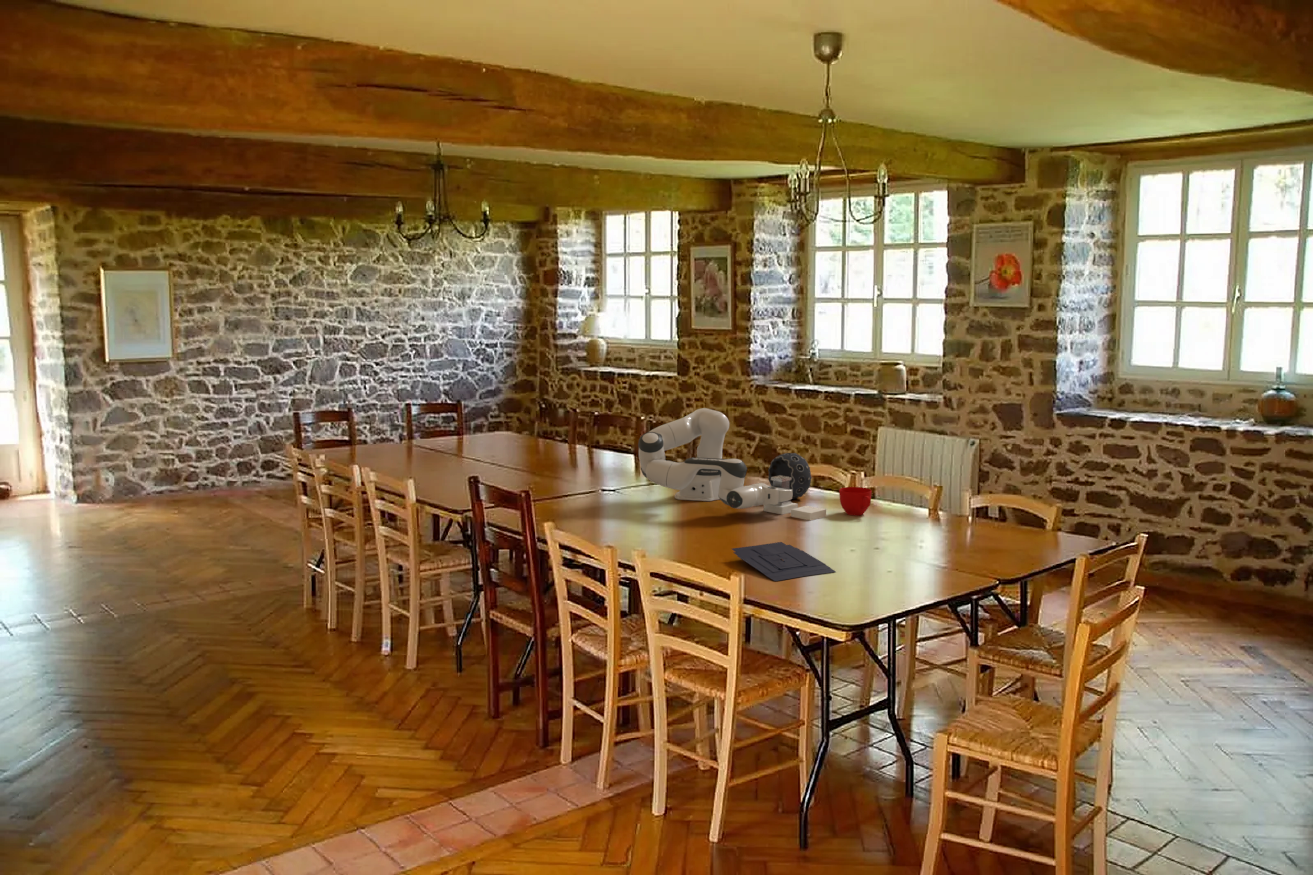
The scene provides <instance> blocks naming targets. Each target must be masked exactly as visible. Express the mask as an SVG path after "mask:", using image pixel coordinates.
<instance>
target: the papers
mask: <svg viewBox="0 0 1313 875" xmlns="http://www.w3.org/2000/svg"><path fill="white" fill-rule="evenodd" d="M731 550H732V551H733V554H735V555H736V556H737V557H738V558H740V560H742V561H744V562H746V563H747V564H749V565H750V566H751V567H753V568H755V569H756V570H757V571H759V572H760V573H762V574H763V575H765V576H766V577H767V578H768V579H771V580H772V581H774V582H778V581H785V580H790V579H795V578H800V577H801V578H802V577H806V576H815V575H822V574H823V575H824V574H828V573H829V574H831V573H836V571H835V569H833V568H831V567H830V566H829V565H827V564H826V563H824V562H822V561H821V560H819V559H817V558H816V557H815V556H812V555H811V554H809V553H807V552H806V551H804V550H802V549H800V548H798V547H795V546H793V545H791V544H785V542H782V541H779V542H778V541H777V542H770V543H765V544H758V545H749V546H741V547H734V548H731Z"/></svg>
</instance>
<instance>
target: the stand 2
mask: <svg viewBox="0 0 1313 875" xmlns="http://www.w3.org/2000/svg"><path fill="white" fill-rule="evenodd" d="M790 517H791V518H796V519H799V520H800V519H801V520H807V521H814V520H818V519H822V518H826V517H827V509H826V508H822V507H821V508H820V507H815V506H811V505H804V506H798V508H795V509H791V513H790Z"/></svg>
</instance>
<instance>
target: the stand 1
mask: <svg viewBox="0 0 1313 875" xmlns="http://www.w3.org/2000/svg"><path fill="white" fill-rule="evenodd" d="M795 508H799V503H795V502H791V504H788V505H784V506H779V505H772V504H765V505H763V511H764V512H768V513H773V514H778V515H786V514H791V509H795Z"/></svg>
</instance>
